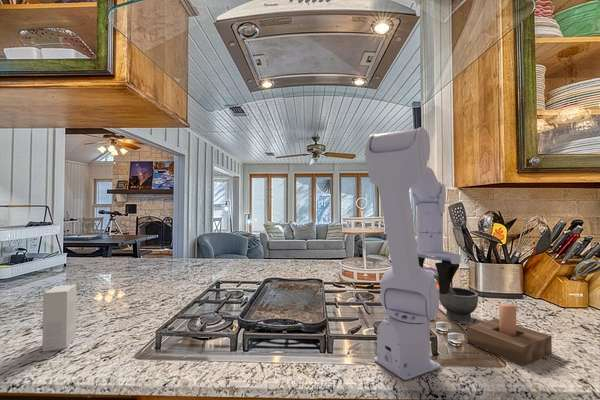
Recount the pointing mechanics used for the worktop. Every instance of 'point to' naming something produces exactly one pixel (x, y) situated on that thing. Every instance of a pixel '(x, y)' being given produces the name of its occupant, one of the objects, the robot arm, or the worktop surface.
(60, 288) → the skincare box
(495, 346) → the walnut stand
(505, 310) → the peg
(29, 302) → the worktop surface
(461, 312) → the mortar and pestle
